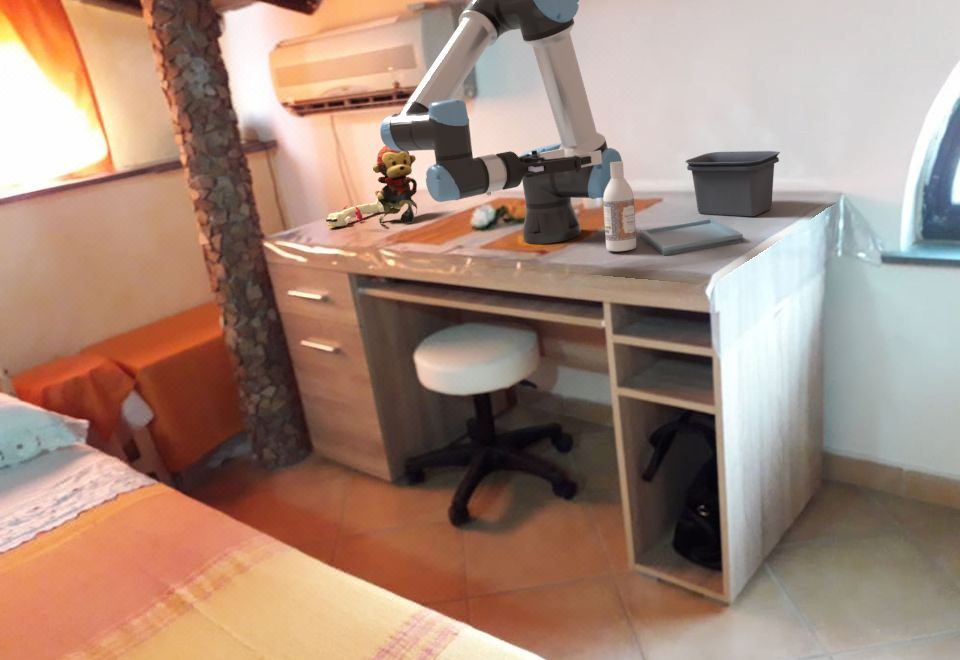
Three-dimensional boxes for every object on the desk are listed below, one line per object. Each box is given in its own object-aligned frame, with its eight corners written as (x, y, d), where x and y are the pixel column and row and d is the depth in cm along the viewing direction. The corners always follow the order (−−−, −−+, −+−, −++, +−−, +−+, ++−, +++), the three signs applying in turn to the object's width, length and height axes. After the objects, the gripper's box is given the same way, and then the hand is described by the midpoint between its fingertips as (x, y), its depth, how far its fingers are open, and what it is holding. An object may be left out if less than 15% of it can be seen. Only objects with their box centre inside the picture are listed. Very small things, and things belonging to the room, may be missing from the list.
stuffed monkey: (362, 223, 250) (359, 143, 247) (401, 222, 262) (399, 146, 259) (393, 223, 240) (390, 139, 237) (432, 222, 252) (430, 143, 249)
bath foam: (621, 252, 177) (616, 163, 172) (600, 250, 183) (594, 163, 178) (642, 247, 181) (638, 159, 176) (621, 245, 187) (616, 160, 181)
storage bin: (682, 216, 204) (679, 161, 199) (716, 201, 213) (713, 149, 208) (757, 221, 188) (756, 162, 183) (790, 205, 197) (789, 148, 192)
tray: (640, 237, 190) (640, 230, 189) (712, 225, 191) (712, 218, 190) (664, 255, 173) (663, 247, 173) (742, 241, 174) (742, 234, 173)
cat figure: (375, 214, 277) (319, 227, 259) (372, 190, 274) (315, 201, 256) (394, 215, 270) (338, 228, 252) (391, 190, 268) (334, 202, 250)
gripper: (472, 186, 174) (551, 170, 183) (532, 194, 153) (618, 176, 162) (468, 152, 171) (548, 137, 180) (528, 156, 150) (616, 139, 159)
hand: (581, 155), depth 171 cm, fingers open, 13 cm apart
